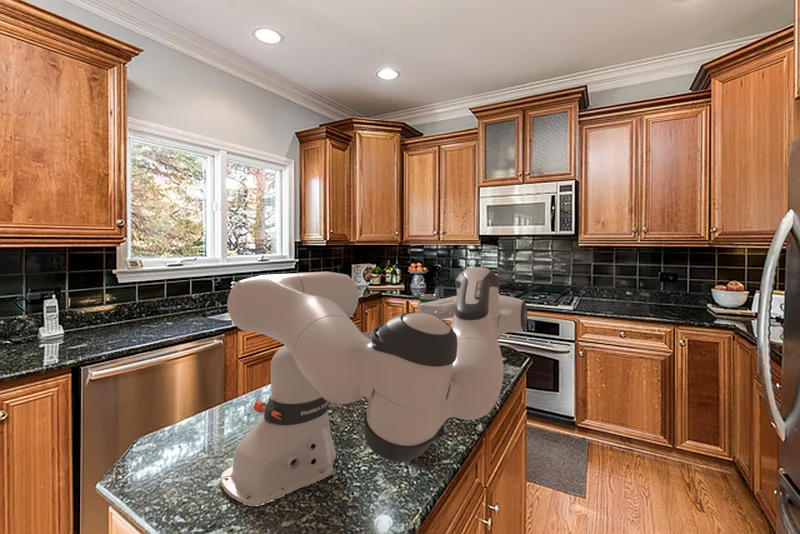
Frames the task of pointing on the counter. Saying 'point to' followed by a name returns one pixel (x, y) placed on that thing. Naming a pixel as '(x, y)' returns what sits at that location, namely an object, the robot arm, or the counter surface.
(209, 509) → the counter surface
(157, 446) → the counter surface
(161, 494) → the counter surface
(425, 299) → the soda can
